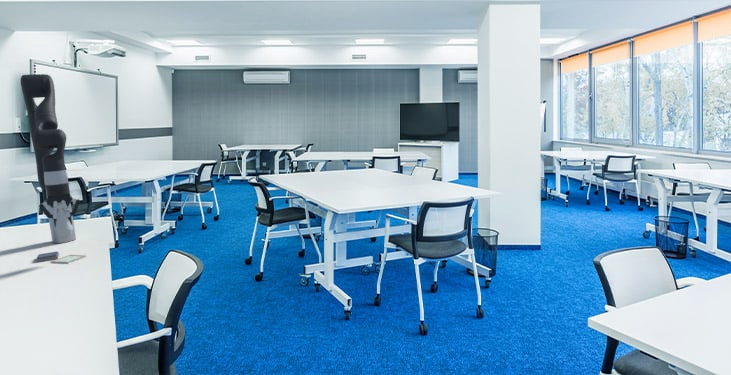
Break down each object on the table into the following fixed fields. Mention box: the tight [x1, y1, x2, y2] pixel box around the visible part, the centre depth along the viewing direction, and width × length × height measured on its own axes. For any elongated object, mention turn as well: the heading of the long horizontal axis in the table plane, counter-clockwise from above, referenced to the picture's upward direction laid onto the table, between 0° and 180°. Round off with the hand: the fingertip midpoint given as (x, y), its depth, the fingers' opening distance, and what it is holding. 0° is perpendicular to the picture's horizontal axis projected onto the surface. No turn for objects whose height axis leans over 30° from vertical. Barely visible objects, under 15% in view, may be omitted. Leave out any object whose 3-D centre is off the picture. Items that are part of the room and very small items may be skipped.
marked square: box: [50, 254, 87, 264], centre depth 191 cm, size 8×8×1 cm
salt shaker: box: [55, 202, 73, 236], centre depth 188 cm, size 6×6×13 cm
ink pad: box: [35, 251, 60, 263], centre depth 194 cm, size 7×7×2 cm
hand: (63, 227), depth 189 cm, fingers closed on salt shaker, 3 cm apart
